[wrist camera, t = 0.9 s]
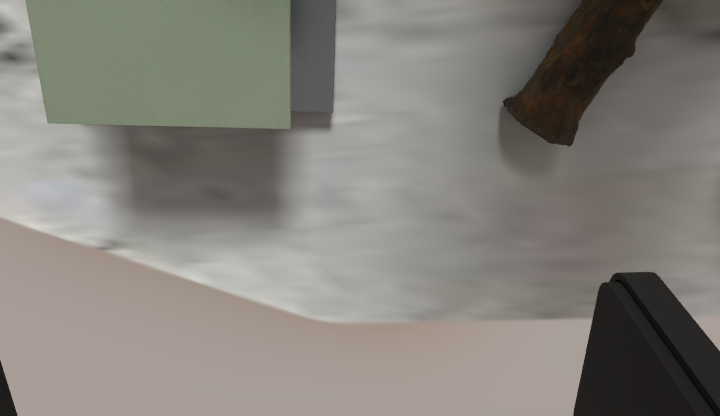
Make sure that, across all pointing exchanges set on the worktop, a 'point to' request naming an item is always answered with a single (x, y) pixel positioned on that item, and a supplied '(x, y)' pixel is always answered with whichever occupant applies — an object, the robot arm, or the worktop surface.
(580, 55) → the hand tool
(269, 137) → the worktop surface
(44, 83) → the stand
